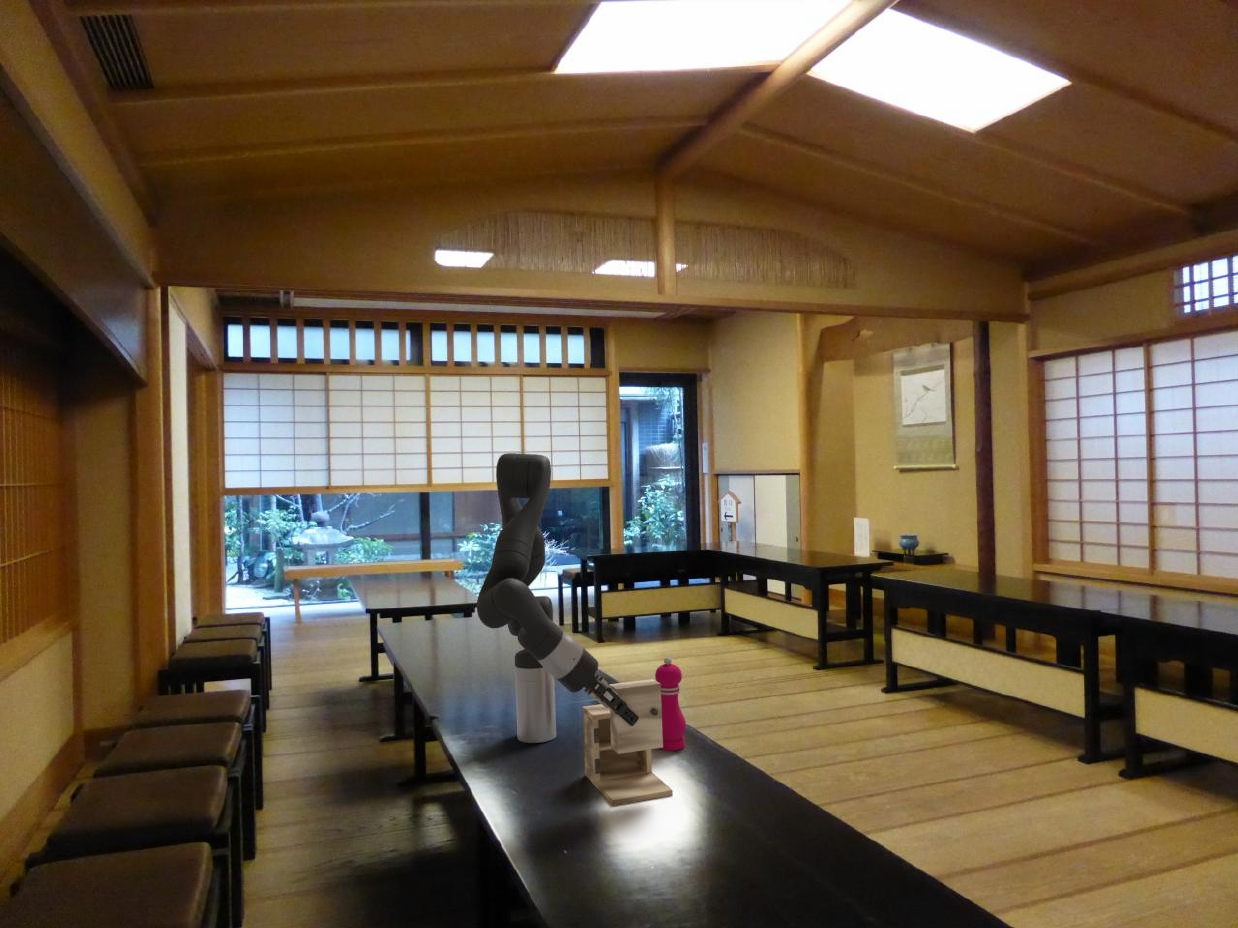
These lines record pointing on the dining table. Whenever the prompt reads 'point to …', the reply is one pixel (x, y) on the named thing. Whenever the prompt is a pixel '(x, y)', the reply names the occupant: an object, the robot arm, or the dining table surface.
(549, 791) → the dining table surface
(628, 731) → the door
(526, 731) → the robot arm
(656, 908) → the dining table surface
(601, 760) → the cabinet
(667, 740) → the pepper mill
